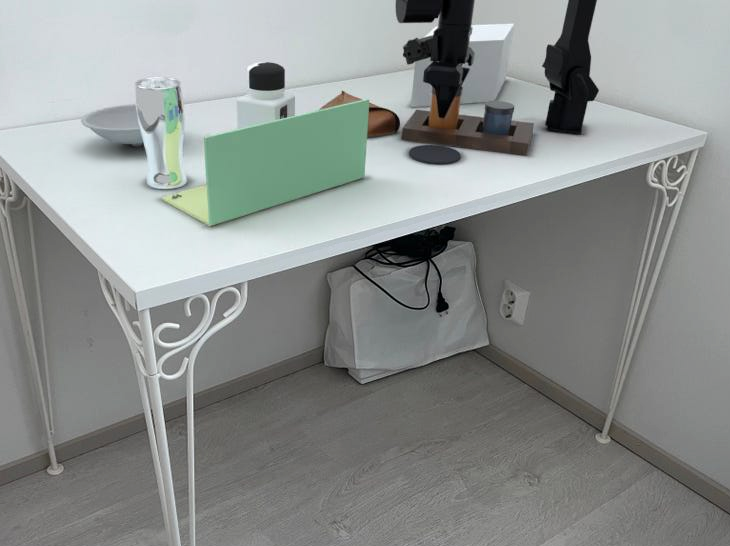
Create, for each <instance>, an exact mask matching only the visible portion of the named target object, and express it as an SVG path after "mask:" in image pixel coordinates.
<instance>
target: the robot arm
mask: <svg viewBox="0 0 730 546" xmlns="http://www.w3.org/2000/svg"><path fill="white" fill-rule="evenodd" d="M475 1H476V0H395V17H396V20H397V22H398V23H399V24H426V23H427V24H432V23H433V22H434V21H435V19H438V24H437V26H438V28H437V29H436V30H435V31H434V35H432V36H428V37H425V36H423V37H421V38H418V37H415V38H413V39H408V41H407V42H406V43H405V44H404V45H403V46H402V49H403V53H402V57H403V58H405V61H406V65H407V66H408V65H412V64H415V62H416V61H419V60H423V59H426V58H430V57H431V59H430V61H433V62H432V63H431V64H430V65H429V66H428V67H427V68H426V69H425V70H424V77H423V82H425V83H428V84H430V85H431V86H432V87H433V88H434V89H435V93H436V101H437V108H438V116H439V118H445V116H446V114H447V112H448V110H449V108H450V106H451V104H452V102H453V100H454V98H455V96H456V94H457V92H458V90H459V88H460V86H462V84H463V82H464V80H465V78H466V76H467V74H468V73H469V71H470V68H463V67H462V65H463V64H465V63H466V62H467V63H468V66H472V64H473V60H474V52H473V50H472V49H471V47H469V40H470V35H471V34H472V29H473V27H471V25H473V16H474V9H475V3H476V2H475ZM597 2H598V0H568V2H567V6H566V11H565V16H564V20H563V25H562V29H561V34H560V36H559V38H558V39H557V41H556V42H555V44H554V45H553V44H549V43H548V44H547V45H546V49H545V58H544V62H543V63H542V65H541V67H542V68H543V69H544V78H546V80H547V81H548V84H549V90H550V91H552V92H554V96H553V99H550V100H549V104H548V108H547V113H546V119H545V125H546V126H547V127H546V130H547V131H551V132H559V133H569V134H576V135H582V133H583V124H584V121H585V116H586V113H587V107H588V103H589V102H594V101H595V100H596V97H597V95H598V94H599V92H600V89H599V88H598V86H597V85H596V83H595V82H594V80H593V79H592V78H591V65H592V53H591V48H590V47H591V46H590V41H589V38H590V34H591V29H592V23H593V21H594V20H593V19H594V17H595V16H594V15H595V11H596V7H597ZM437 61H438V62H437Z"/></svg>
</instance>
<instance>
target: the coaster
mask: <svg viewBox="0 0 730 546" xmlns="http://www.w3.org/2000/svg"><path fill="white" fill-rule="evenodd" d="M408 156H409V157H410V158H411V159H412V160H414V161H416V162H420V163H423V164H430V165H450V164H455V163H457V162H459V161H460V160H461V157H462V154H461V152H460V151H458V150H457V149H456V148H452V147H450V146H446V145H438V144H421V145H417V146H413V147H411V148H410V149H409V150H408Z"/></svg>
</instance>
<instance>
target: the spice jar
mask: <svg viewBox="0 0 730 546" xmlns="http://www.w3.org/2000/svg"><path fill="white" fill-rule="evenodd" d="M515 107H516V106H515V104H514V103H512V102H509V101H505V100H504V101H503V100H495V101H489V102H485V104H484V115H483V117H484V120H483V127H482V133H489V134H497V135H506V136H509V133H510V127H511V122H512V121H513V115H514V112H515Z"/></svg>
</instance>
